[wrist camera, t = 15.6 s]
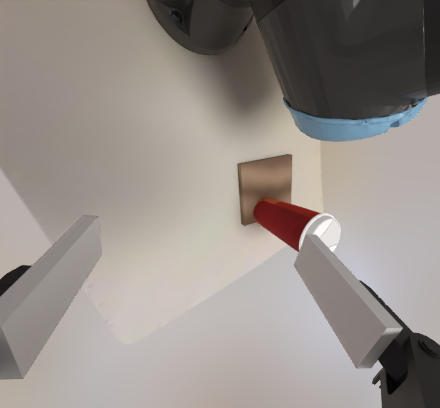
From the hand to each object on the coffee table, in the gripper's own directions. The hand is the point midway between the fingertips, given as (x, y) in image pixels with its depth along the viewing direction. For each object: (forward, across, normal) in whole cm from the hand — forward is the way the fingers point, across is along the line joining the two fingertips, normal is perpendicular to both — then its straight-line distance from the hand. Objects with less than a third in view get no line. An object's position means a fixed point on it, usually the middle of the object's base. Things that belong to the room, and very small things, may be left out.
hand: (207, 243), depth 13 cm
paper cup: (+25, +14, -9) cm, 30 cm away
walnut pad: (+27, +14, -5) cm, 31 cm away
